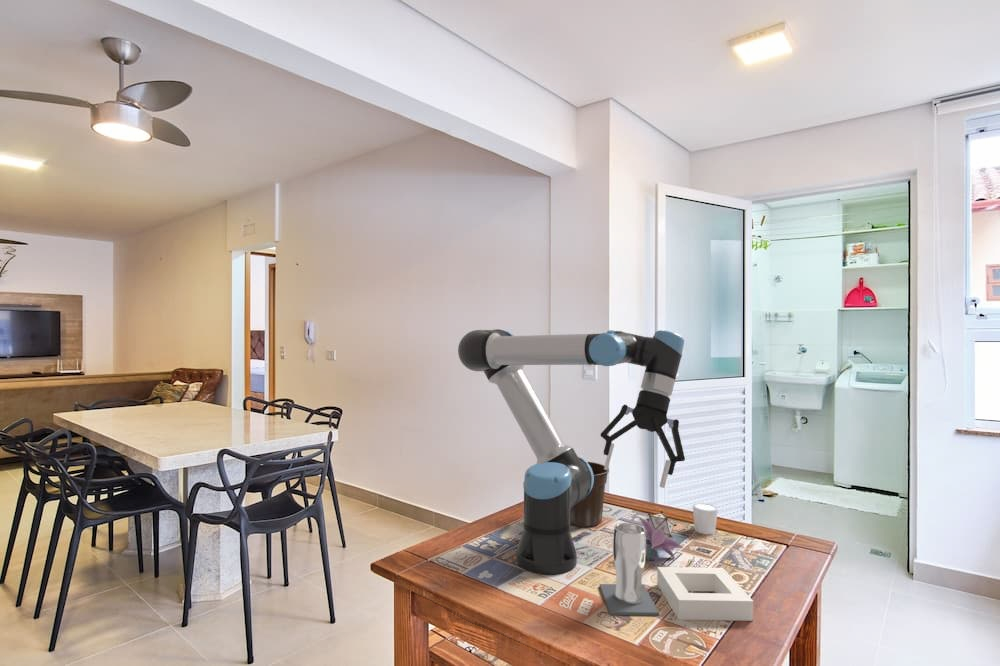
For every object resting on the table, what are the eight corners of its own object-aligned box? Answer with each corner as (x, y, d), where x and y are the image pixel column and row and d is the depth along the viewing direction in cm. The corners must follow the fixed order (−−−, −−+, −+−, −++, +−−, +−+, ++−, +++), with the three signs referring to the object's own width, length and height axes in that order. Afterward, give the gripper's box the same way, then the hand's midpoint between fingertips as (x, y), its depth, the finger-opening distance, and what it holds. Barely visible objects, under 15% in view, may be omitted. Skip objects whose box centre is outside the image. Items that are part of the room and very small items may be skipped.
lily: (685, 574, 132) (692, 535, 135) (642, 557, 130) (651, 518, 134) (659, 569, 143) (667, 532, 146) (619, 553, 141) (628, 517, 145)
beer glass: (651, 597, 117) (652, 528, 116) (634, 609, 112) (635, 537, 112) (623, 586, 122) (624, 520, 121) (605, 597, 117) (607, 528, 116)
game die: (665, 557, 147) (683, 536, 142) (636, 546, 148) (653, 524, 142) (664, 531, 155) (681, 510, 150) (636, 520, 155) (652, 498, 150)
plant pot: (571, 533, 154) (572, 477, 154) (544, 515, 169) (545, 463, 169) (619, 526, 160) (619, 471, 160) (589, 508, 175) (590, 459, 175)
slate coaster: (610, 614, 111) (610, 611, 111) (599, 586, 123) (599, 583, 123) (659, 615, 111) (659, 612, 111) (643, 587, 123) (643, 584, 123)
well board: (678, 619, 109) (679, 600, 109) (657, 584, 124) (657, 566, 124) (753, 620, 109) (753, 601, 109) (722, 585, 124) (723, 567, 124)
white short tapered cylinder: (714, 537, 153) (715, 512, 153) (689, 531, 157) (690, 507, 156) (719, 529, 159) (719, 505, 159) (695, 524, 162) (695, 501, 162)
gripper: (703, 408, 134) (683, 493, 131) (604, 380, 139) (582, 461, 136) (710, 407, 127) (689, 496, 124) (606, 377, 132) (582, 463, 129)
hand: (633, 478), depth 130 cm, fingers open, 13 cm apart
